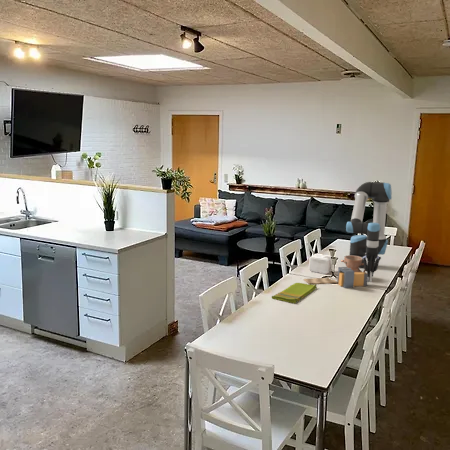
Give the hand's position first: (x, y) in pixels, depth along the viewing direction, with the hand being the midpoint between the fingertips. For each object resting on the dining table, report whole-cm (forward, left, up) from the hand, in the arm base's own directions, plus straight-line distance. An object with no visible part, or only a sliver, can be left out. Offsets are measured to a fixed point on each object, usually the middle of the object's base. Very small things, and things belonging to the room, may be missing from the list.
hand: (369, 281), depth 305 cm
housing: (+17, 0, -2) cm, 17 cm away
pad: (+30, -10, -2) cm, 32 cm away
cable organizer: (+20, -33, -2) cm, 39 cm away
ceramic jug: (+3, -17, -2) cm, 18 cm away
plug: (+12, 0, -2) cm, 12 cm away
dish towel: (+56, +10, -3) cm, 57 cm away
